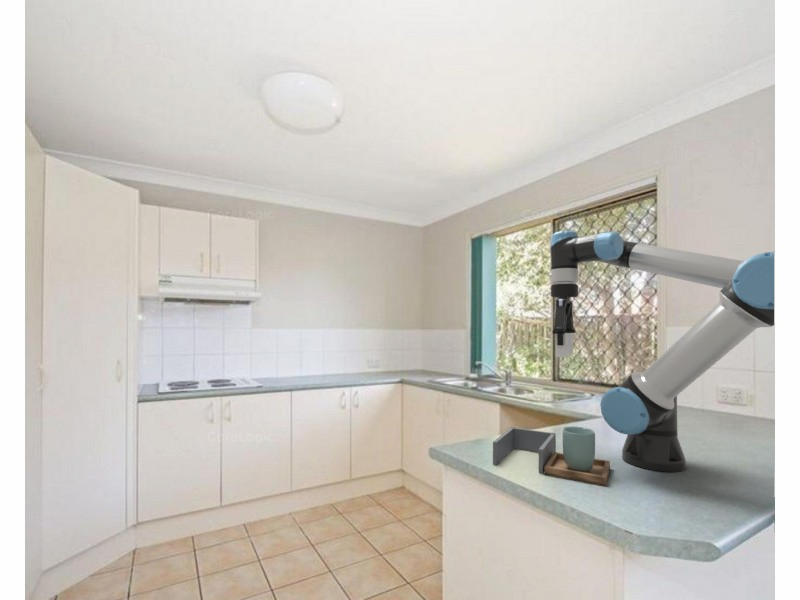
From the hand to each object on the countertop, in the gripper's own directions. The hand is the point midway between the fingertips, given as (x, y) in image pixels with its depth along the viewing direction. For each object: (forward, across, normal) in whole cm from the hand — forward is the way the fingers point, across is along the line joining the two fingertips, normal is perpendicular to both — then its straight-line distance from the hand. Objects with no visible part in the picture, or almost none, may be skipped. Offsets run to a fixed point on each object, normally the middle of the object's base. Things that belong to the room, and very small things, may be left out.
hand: (564, 355), depth 123 cm
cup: (+28, +13, +5) cm, 32 cm away
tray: (+29, +13, +5) cm, 32 cm away
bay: (+29, +11, -9) cm, 32 cm away
